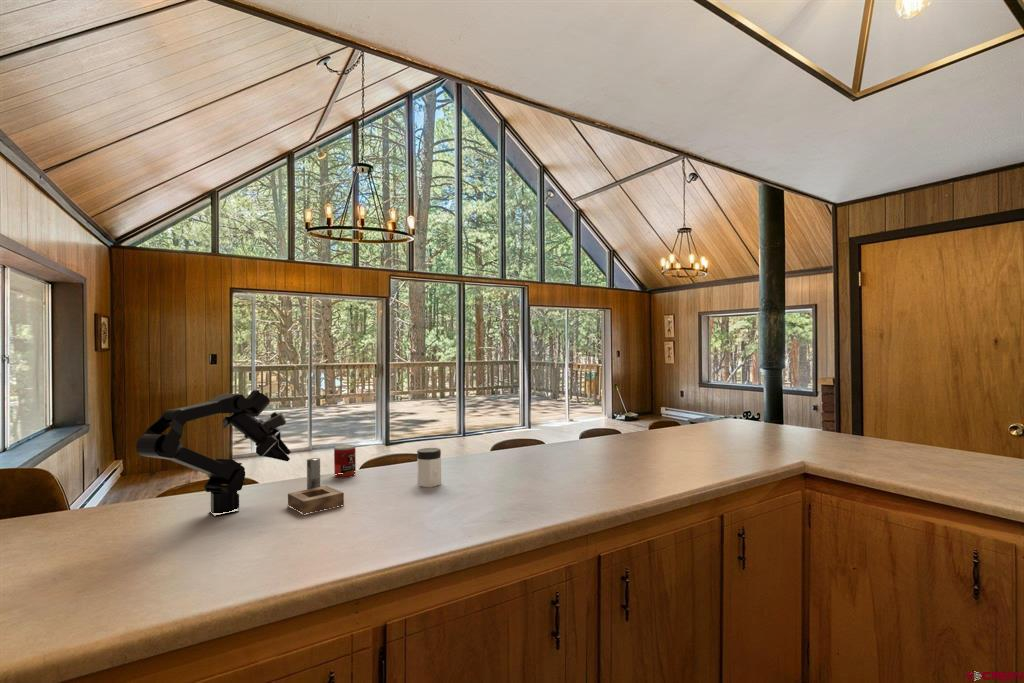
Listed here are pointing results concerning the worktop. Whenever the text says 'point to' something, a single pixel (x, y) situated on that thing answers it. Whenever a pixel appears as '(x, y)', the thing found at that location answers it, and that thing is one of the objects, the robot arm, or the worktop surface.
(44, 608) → the worktop surface
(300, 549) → the worktop surface
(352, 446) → the canned food
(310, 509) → the wooden socket block
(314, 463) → the grey upright bar
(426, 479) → the jar
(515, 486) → the worktop surface
